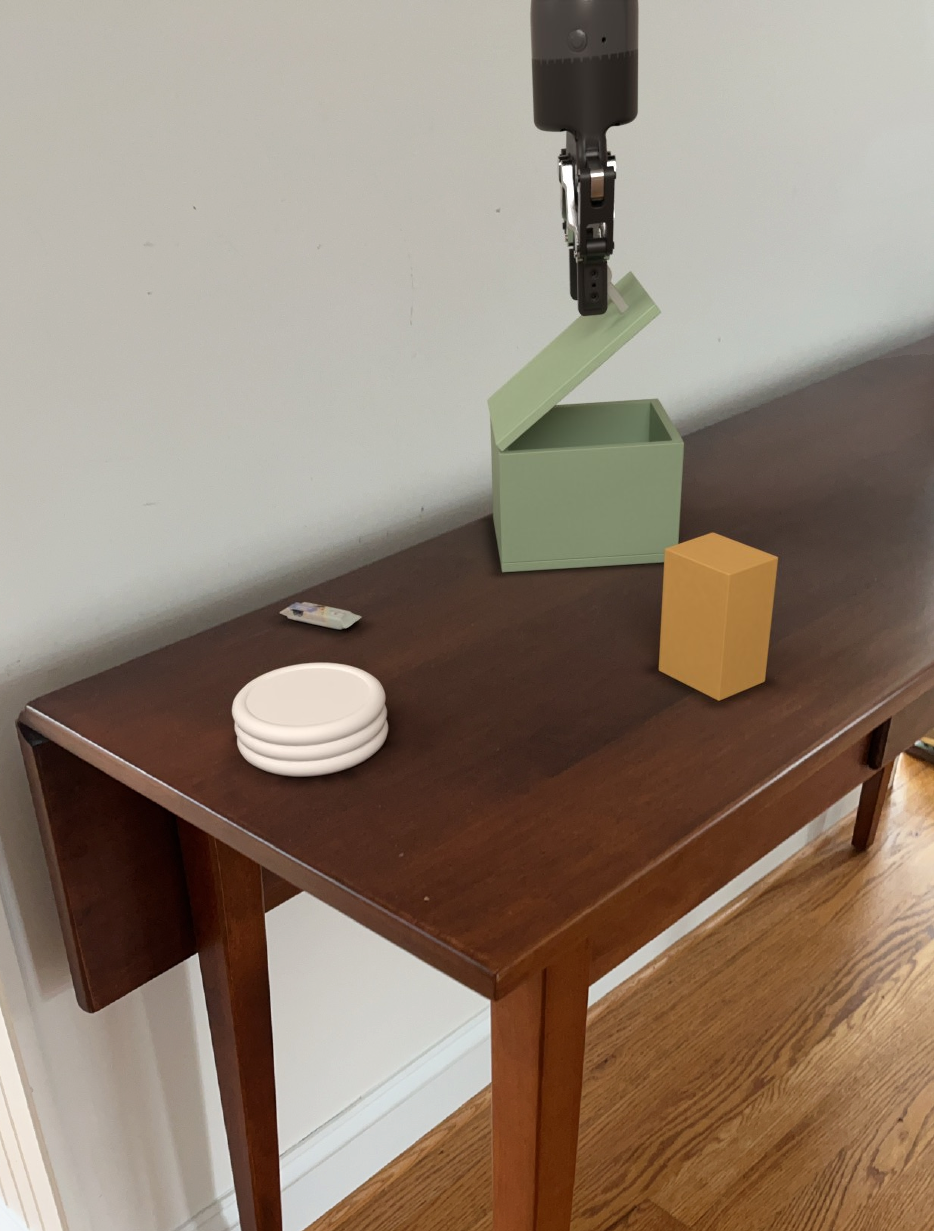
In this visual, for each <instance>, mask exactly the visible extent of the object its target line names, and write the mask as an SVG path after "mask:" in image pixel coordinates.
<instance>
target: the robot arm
mask: <svg viewBox="0 0 934 1231" xmlns="http://www.w3.org/2000/svg"><path fill="white" fill-rule="evenodd" d="M529 9H530V12H529V23H530V25H529V26H530V28H529V29H530V51H531V79H532V80H531V81H532V82H531V83H532V84H531V85H532V109H533V111H532V112H533V114H532V115H533V124H534V127H536V128H537V130H540V131H543V132H547V133H549V132H550V133H563V132H566V133H565V147H564V148H560V153H559V155H557V159H556V161H557V163H556V165H557V166H556V173H557V177H558V182H559V185H560V186H559V187H560V189H559V190H560V191H559V192H560V193H559V196H560V197H559V198H560V199H559V201H560V202H559V208H560V213H561V218H562V219H563V222H562V224H561V226H562V228H561V229H562V230H563V233H564V242H565V243H566V247H567V248H568V276H569V280H568V281H569V295H570V298H571V299H572V300H573V301H576V302H577V311H578V313H579V315H580V316H581V315H582V316H592V315H602V314H604V313H605V312H606V311H607V308H608V298H607V265H608V261H609V260H610V257H611V255H613V254H614V250H615V241H614V225H615V219H616V207H615V188H616V187H615V185H616V180H617V158H616V154H612V152H611V150H608V143H607V142H608V141H607V132H608V130H609V129H611V128H612V127H621V126H625V125H627V124H631V123H632V122H633V121H635V120H636V119H637V116H638V114H639V17H640V15H639V14H640V12H639V0H530V8H529Z"/></svg>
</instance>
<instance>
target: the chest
mask: <svg viewBox="0 0 934 1231" xmlns="http://www.w3.org/2000/svg"><path fill="white" fill-rule="evenodd" d="M489 422H490V425H489V426H490V454H491V457H490V458H491V459H490V460H491V486H492V487H491V488H492V489H491V491H492V519H493V525H494V531H495V537H496V538H495V539H496V542H497V550H498V555H499V562H500V568H501V572H502V573H514V572H530V571H549V570H563V569H579V568H580V569H581V568H594V567H595V568H597V567H609V566H610V567H611V566H627V565H643V564H657V563H658V564H661V563H664V559H665V549H666V548H669V547H671V546H674V545H677V544H679V539H680V538H679V537H680V524H681V505H682V502H681V501H682V489H683V488H682V487H683V474H684V473H683V472H684V453H685V442H684V441H683V440H684V439H683V438H682V437H681V435H680V434H679V432H678V430H677V428H676V426H675V425H674V423H673V421H672V419H671V418H670V416H669V415H668V412H667V411H666V409H665V408H664V406H663V404H662V402H661V400H659V398H645V399H642V398H641V399H630V400H629V399H628V400H613V401H612V400H611V401H597V402H581V403H565V404H564V403H563V404H556V405H555V406H554V407H553V408H552V409H551V410H549V411H548V412H547V413H546V414H545V415H544V416H543V417H541V418H540V419H539V420H538V421H537V422H536V423H535V424H533V425H532V426H531V427H530V428H529V429H528V430H527V431H525V432H524V433H523V434H522V435H521V436H520V437H519V438H517V439H516V440H515V441H514V442H513V443H512V444H511V445H509V446H508V447H507V448H506V449H505V450H504V451H501V450H500V449H499V448H498V447H497V446H496V443H495V437H494V432H493V427H492V422H491V417H490V416H489Z"/></svg>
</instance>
